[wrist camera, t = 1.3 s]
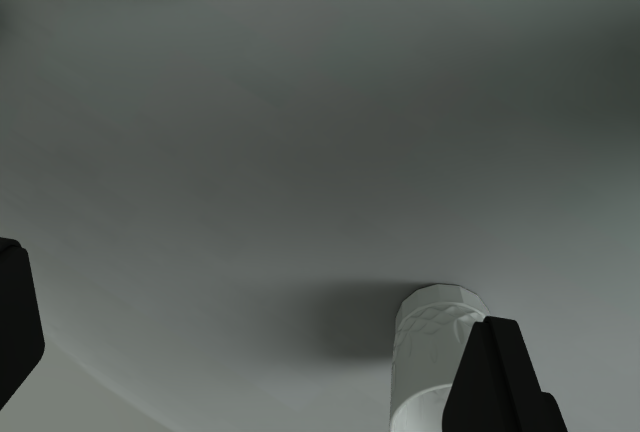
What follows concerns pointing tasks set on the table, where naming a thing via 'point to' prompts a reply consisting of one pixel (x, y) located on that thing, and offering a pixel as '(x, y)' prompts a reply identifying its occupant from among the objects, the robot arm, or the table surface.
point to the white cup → (429, 353)
